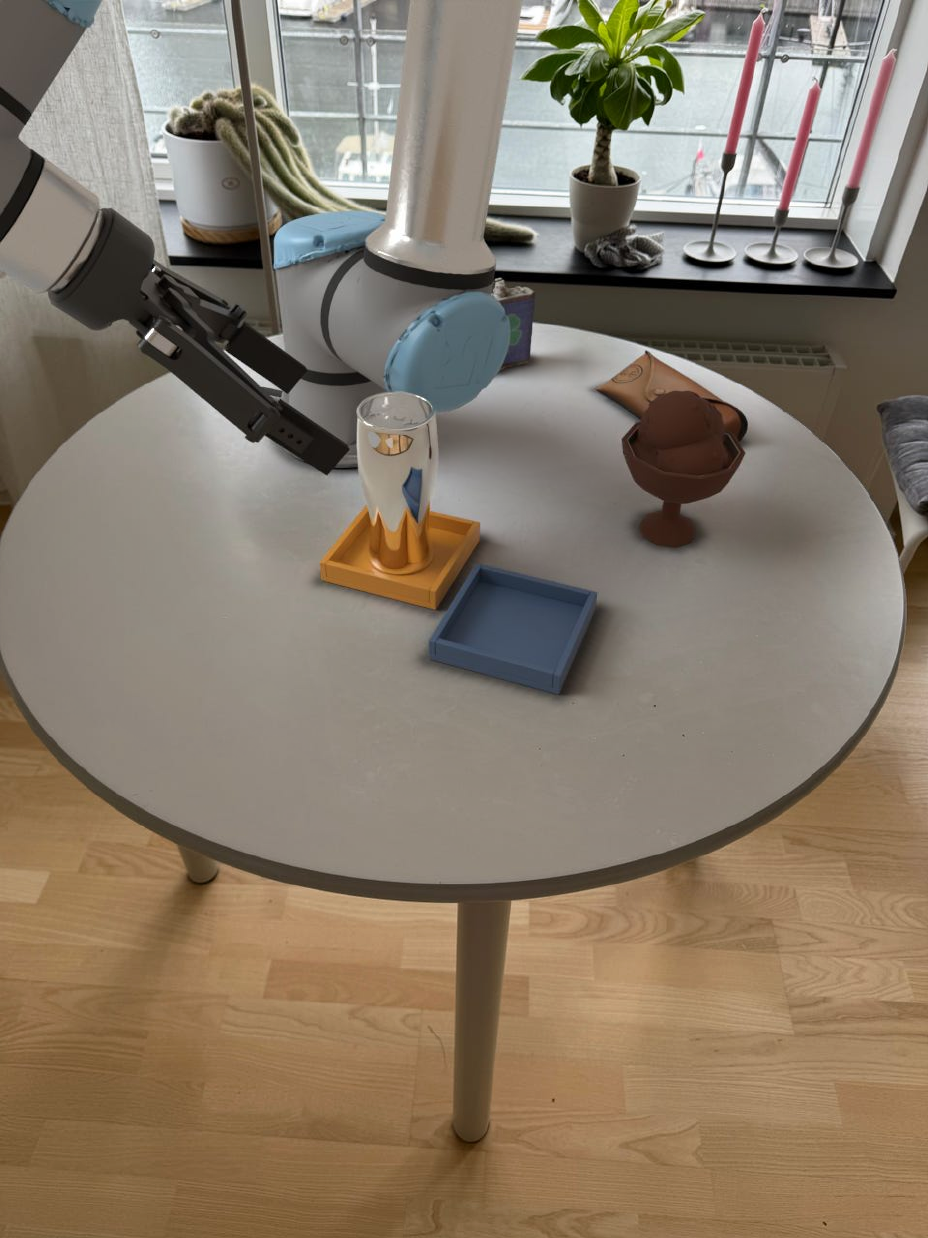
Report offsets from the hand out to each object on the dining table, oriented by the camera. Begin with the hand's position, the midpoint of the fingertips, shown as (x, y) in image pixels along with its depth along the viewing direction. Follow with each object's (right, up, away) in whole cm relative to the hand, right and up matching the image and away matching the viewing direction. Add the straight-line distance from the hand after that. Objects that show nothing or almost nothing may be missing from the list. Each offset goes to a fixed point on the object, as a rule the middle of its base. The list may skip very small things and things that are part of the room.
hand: (316, 418), depth 78 cm
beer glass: (+6, -10, +12) cm, 17 cm away
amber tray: (+6, -11, +12) cm, 17 cm away
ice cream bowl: (+32, -8, +17) cm, 37 cm away
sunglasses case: (+35, +7, +34) cm, 49 cm away
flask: (+16, +15, +43) cm, 48 cm away
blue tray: (+16, -17, +5) cm, 24 cm away
